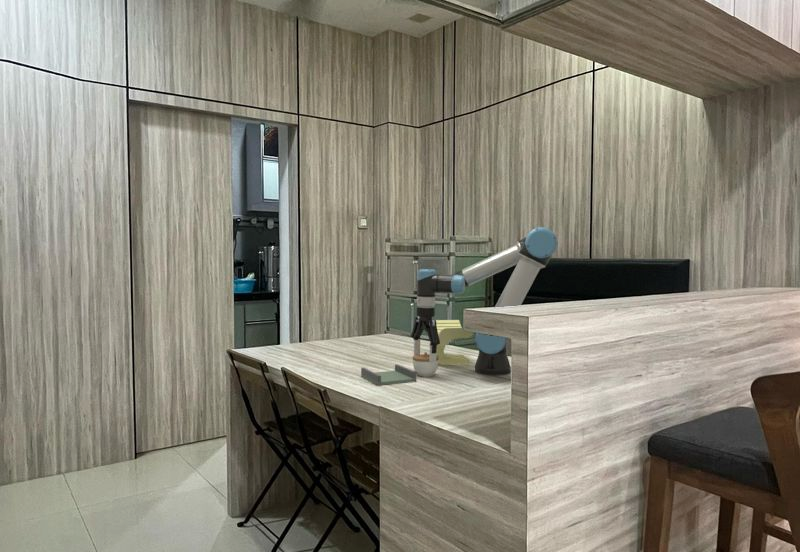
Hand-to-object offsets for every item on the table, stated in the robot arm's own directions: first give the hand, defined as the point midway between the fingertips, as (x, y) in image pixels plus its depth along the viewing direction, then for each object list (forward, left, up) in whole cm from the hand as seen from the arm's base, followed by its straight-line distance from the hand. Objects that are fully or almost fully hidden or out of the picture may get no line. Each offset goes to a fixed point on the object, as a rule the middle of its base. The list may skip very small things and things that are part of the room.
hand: (424, 358), depth 220 cm
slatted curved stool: (-24, -20, -7) cm, 32 cm away
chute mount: (+17, 0, -7) cm, 18 cm away
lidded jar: (0, 0, -7) cm, 7 cm away
